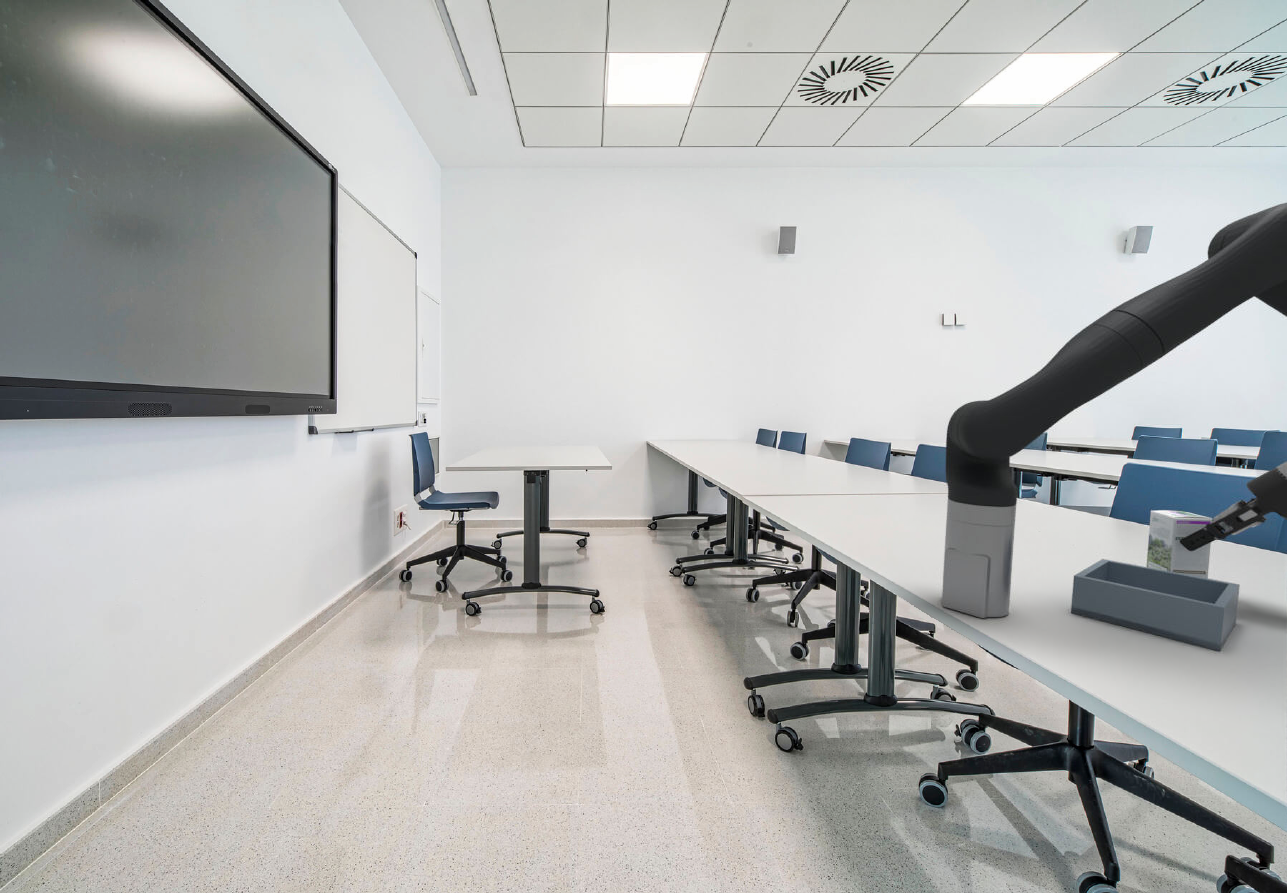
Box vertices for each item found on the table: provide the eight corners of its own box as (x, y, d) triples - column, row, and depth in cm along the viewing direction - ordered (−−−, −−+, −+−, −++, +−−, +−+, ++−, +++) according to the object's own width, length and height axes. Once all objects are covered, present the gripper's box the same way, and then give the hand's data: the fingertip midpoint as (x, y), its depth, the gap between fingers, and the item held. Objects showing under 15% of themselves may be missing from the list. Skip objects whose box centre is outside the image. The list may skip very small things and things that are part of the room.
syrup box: (1207, 602, 88) (1216, 517, 87) (1166, 599, 90) (1174, 515, 88) (1180, 591, 94) (1188, 510, 93) (1142, 588, 95) (1149, 509, 94)
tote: (1219, 651, 70) (1224, 607, 70) (1070, 612, 83) (1073, 575, 83) (1235, 623, 80) (1239, 584, 80) (1099, 592, 93) (1102, 558, 92)
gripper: (1282, 463, 86) (1177, 519, 96) (1274, 468, 78) (1160, 529, 88) (1332, 500, 82) (1216, 554, 92) (1329, 510, 74) (1202, 569, 84)
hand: (1189, 542), depth 90 cm, fingers open, 8 cm apart
